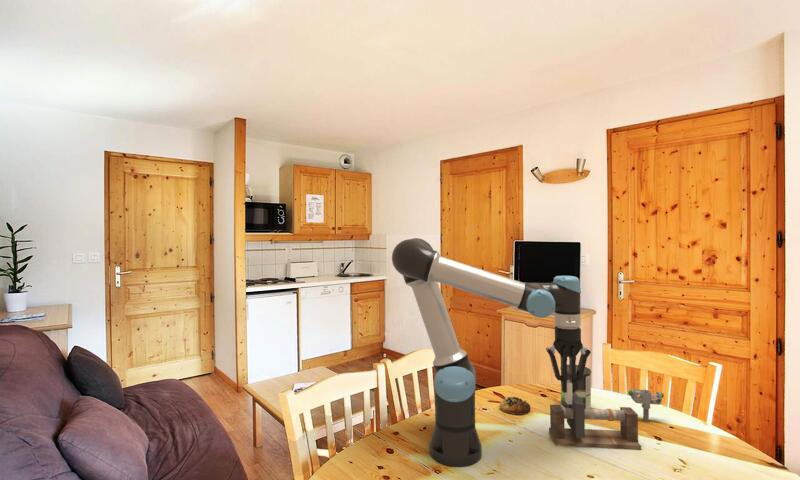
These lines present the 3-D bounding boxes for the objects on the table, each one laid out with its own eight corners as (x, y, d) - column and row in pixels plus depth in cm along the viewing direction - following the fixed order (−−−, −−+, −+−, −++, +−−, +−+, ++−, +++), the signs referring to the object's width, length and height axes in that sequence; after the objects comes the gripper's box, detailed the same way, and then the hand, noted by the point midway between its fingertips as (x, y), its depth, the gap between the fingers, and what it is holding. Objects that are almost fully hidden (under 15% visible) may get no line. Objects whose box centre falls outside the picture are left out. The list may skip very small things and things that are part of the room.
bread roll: (535, 414, 144) (533, 400, 144) (505, 420, 143) (502, 406, 143) (524, 402, 155) (522, 389, 155) (495, 408, 154) (493, 394, 154)
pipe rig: (556, 445, 123) (555, 413, 123) (548, 431, 132) (548, 401, 132) (641, 449, 120) (641, 416, 120) (627, 434, 129) (627, 403, 129)
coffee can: (574, 415, 143) (573, 375, 143) (554, 403, 153) (554, 366, 153) (598, 410, 146) (597, 371, 146) (577, 399, 156) (577, 363, 156)
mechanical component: (664, 423, 136) (664, 393, 135) (630, 421, 138) (630, 391, 137) (660, 419, 138) (660, 390, 138) (627, 417, 141) (627, 388, 140)
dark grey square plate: (576, 437, 122) (576, 404, 121) (566, 422, 132) (566, 391, 131) (584, 437, 121) (584, 404, 121) (574, 422, 131) (574, 391, 131)
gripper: (548, 329, 123) (549, 407, 124) (594, 329, 122) (595, 408, 122) (542, 323, 131) (544, 397, 131) (585, 323, 129) (586, 398, 129)
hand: (568, 402), depth 127 cm, fingers closed
